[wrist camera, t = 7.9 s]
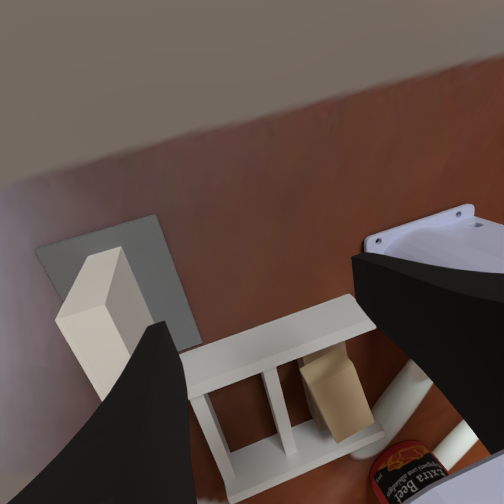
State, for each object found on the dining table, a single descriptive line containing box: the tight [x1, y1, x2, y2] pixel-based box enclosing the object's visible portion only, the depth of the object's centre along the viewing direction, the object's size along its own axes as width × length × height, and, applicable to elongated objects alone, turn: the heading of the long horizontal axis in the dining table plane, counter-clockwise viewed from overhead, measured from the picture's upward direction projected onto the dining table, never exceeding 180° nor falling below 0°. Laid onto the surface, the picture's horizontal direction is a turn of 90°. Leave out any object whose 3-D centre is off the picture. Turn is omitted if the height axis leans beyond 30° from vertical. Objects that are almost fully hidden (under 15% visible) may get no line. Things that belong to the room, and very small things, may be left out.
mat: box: [35, 214, 202, 351], centre depth 21 cm, size 7×10×1 cm
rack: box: [179, 294, 384, 504], centre depth 26 cm, size 14×13×4 cm
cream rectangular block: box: [55, 246, 154, 402], centre depth 18 cm, size 2×8×7 cm, turn 13°
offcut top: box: [300, 347, 374, 444], centre depth 26 cm, size 4×7×2 cm, turn 23°
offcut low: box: [297, 340, 347, 432], centre depth 28 cm, size 4×9×2 cm, turn 15°
